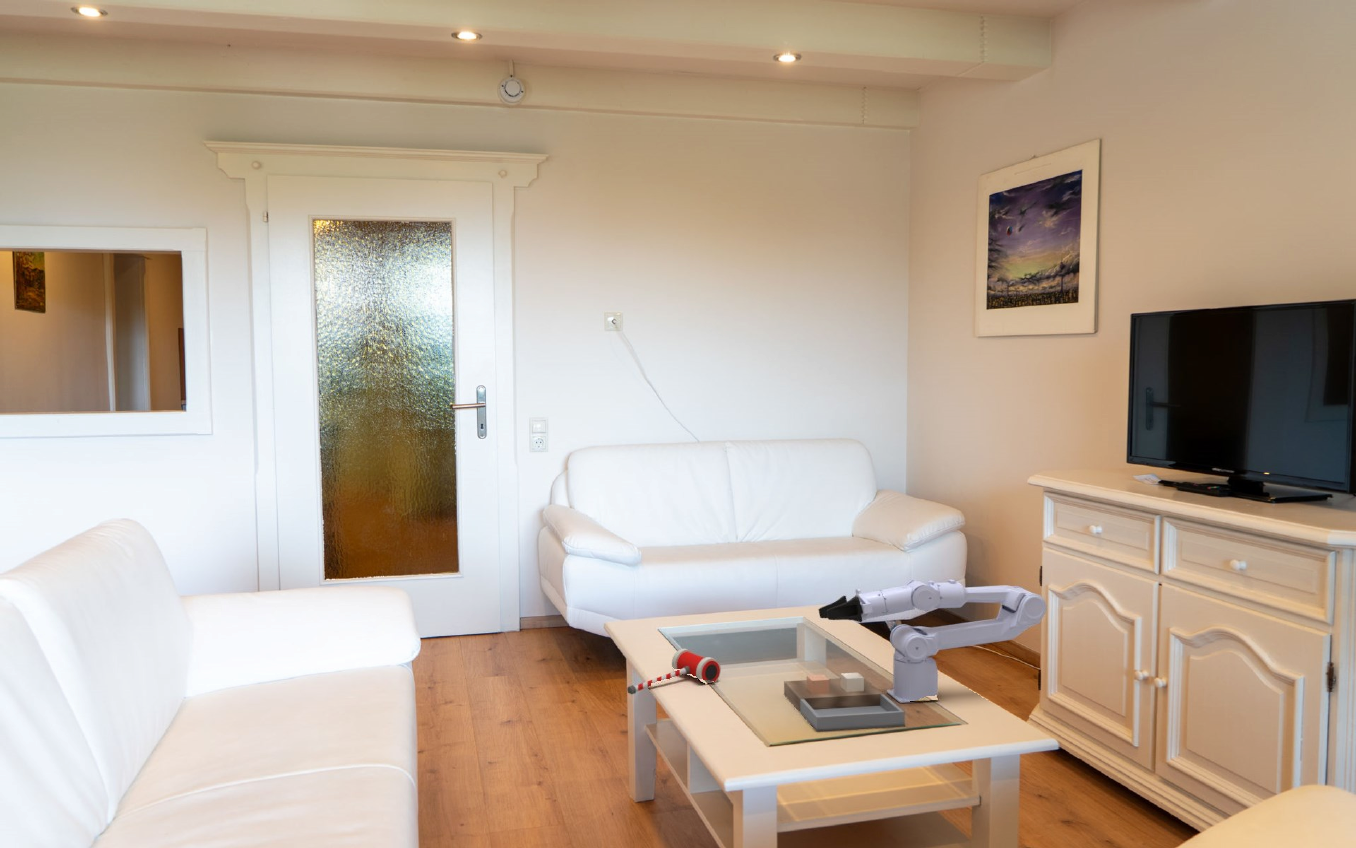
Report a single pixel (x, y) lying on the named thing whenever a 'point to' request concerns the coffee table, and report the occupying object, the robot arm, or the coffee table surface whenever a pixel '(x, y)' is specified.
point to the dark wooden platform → (832, 695)
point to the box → (854, 716)
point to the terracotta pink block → (817, 684)
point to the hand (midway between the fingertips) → (823, 614)
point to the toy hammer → (686, 669)
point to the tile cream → (852, 682)
